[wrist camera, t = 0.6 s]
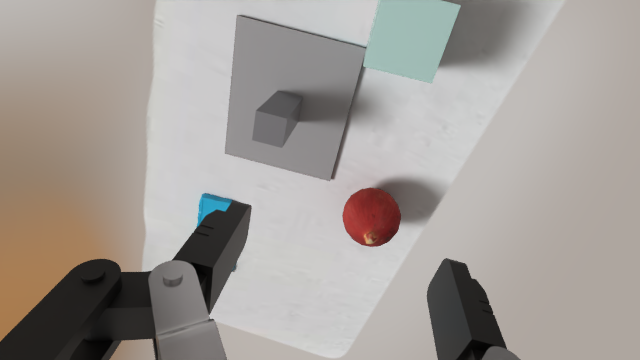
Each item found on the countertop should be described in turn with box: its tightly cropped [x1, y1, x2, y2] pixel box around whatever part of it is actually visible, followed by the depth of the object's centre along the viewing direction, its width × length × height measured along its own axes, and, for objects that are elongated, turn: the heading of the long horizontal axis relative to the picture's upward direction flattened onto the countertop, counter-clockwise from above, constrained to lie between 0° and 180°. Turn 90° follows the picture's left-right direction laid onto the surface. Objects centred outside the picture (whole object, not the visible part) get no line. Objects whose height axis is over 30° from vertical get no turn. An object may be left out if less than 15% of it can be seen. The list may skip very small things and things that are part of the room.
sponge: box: [197, 194, 235, 269], centre depth 42 cm, size 2×12×6 cm
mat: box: [225, 15, 366, 181], centre depth 33 cm, size 14×12×1 cm
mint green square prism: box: [363, 0, 461, 83], centre depth 26 cm, size 5×5×7 cm
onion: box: [343, 188, 401, 247], centre depth 34 cm, size 6×6×8 cm
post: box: [252, 91, 303, 148], centre depth 30 cm, size 3×3×7 cm
